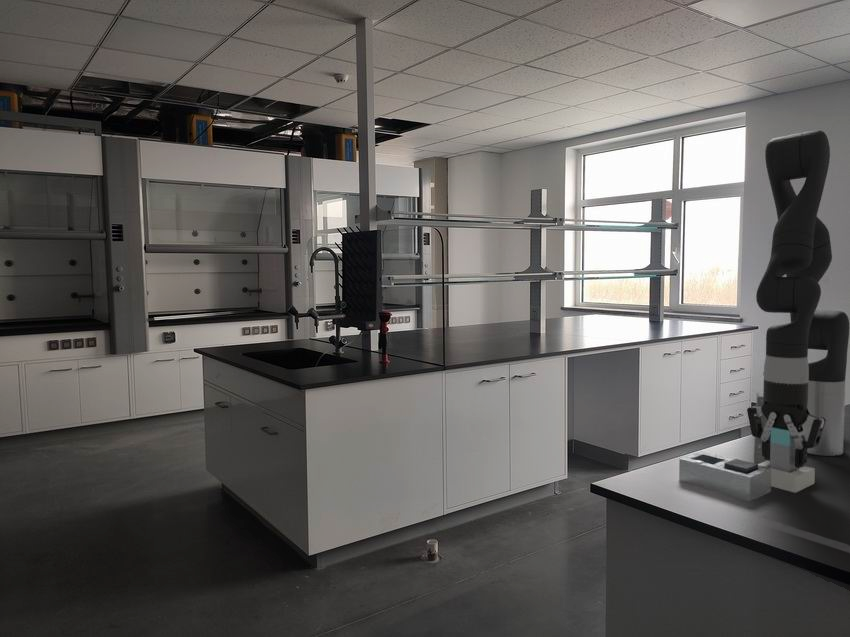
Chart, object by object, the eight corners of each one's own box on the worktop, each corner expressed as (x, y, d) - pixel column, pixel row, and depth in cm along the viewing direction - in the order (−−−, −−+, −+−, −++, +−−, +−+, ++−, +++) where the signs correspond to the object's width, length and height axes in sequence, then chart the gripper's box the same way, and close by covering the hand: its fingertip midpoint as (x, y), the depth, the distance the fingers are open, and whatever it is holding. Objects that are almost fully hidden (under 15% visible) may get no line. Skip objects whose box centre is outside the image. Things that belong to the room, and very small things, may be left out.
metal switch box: (701, 476, 125) (701, 447, 124) (770, 496, 113) (771, 464, 113) (679, 485, 120) (679, 454, 120) (749, 506, 109) (750, 473, 108)
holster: (771, 477, 124) (772, 458, 123) (814, 488, 117) (814, 468, 117) (752, 485, 119) (752, 466, 119) (795, 497, 113) (795, 477, 112)
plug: (778, 477, 121) (779, 424, 120) (796, 482, 118) (798, 428, 117) (769, 481, 119) (770, 427, 118) (788, 486, 116) (789, 431, 115)
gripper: (835, 381, 113) (832, 468, 114) (757, 371, 125) (756, 451, 126) (817, 386, 108) (815, 477, 110) (739, 376, 120) (737, 458, 122)
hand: (783, 462), depth 118 cm, fingers open, 5 cm apart
